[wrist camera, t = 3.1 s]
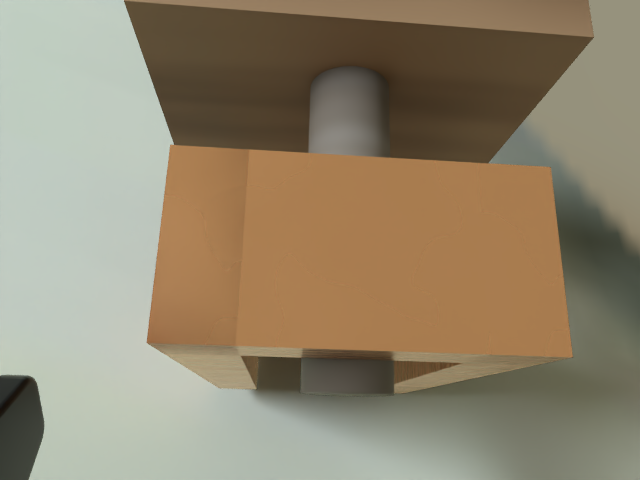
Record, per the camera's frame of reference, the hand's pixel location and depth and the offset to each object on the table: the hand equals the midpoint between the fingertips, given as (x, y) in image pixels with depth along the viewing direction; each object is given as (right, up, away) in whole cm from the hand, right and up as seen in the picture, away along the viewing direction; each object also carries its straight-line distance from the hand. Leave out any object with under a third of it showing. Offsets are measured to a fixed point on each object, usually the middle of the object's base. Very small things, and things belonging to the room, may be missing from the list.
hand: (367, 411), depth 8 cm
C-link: (-1, -1, +11) cm, 11 cm away
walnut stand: (-1, +1, +12) cm, 13 cm away
